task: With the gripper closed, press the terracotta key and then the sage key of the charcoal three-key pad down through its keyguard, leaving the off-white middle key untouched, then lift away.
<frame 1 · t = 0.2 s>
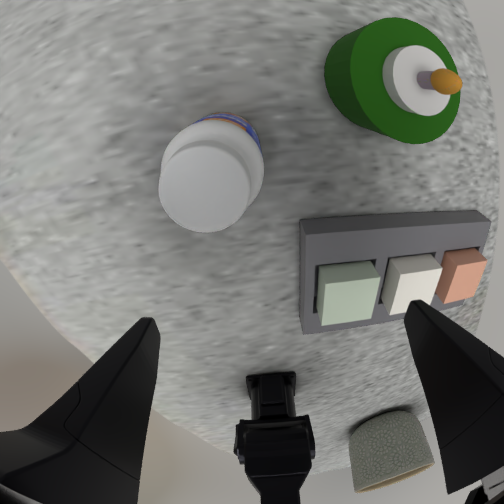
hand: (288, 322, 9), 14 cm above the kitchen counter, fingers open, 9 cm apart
key terracotta: (460, 275, 22), point 3 cm above the kitchen counter, slide at 0.0 cm
key white: (411, 284, 23), point 3 cm above the kitchen counter, slide at 0.0 cm
pill bottle: (222, 146, 20), on the kitchen counter
candle: (374, 79, 17), on the kitchen counter
key sage: (346, 293, 23), point 3 cm above the kitchen counter, slide at 0.0 cm
keypad: (396, 263, 25), on the kitchen counter
planter: (380, 420, 48), on the kitchen counter
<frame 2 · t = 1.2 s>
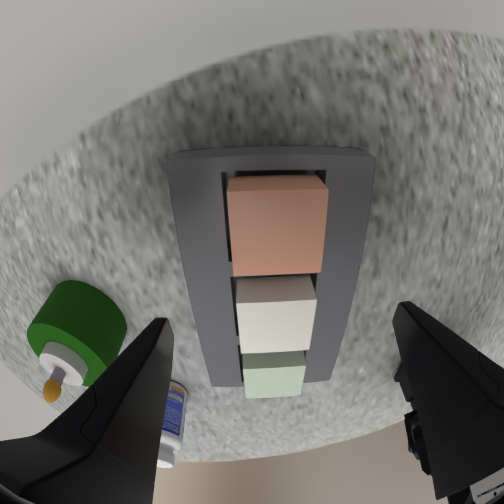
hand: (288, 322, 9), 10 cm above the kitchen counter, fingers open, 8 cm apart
key terracotta: (276, 224, 15), point 3 cm above the kitchen counter, slide at 0.0 cm
key white: (274, 316, 18), point 3 cm above the kitchen counter, slide at 0.0 cm
pill bottle: (166, 387, 29), on the kitchen counter
candle: (88, 313, 23), on the kitchen counter
key sage: (272, 371, 21), point 3 cm above the kitchen counter, slide at 0.0 cm
keypad: (271, 283, 21), on the kitchen counter
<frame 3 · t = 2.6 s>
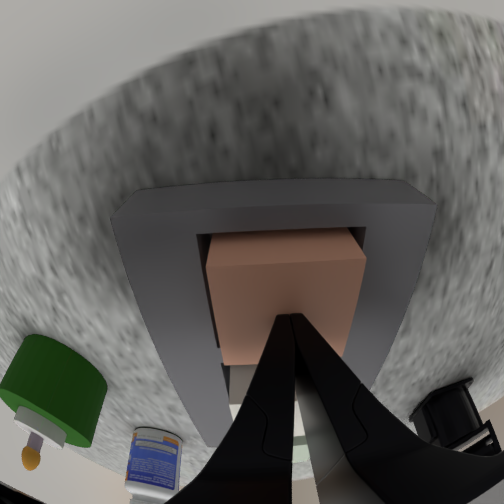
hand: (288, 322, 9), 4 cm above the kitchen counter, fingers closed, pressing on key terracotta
key terracotta: (283, 297, 10), point 3 cm above the kitchen counter, slide at -0.8 cm, touching gripper
key white: (280, 402, 13), point 3 cm above the kitchen counter, slide at 0.0 cm
pill bottle: (158, 434, 24), on the kitchen counter
candle: (64, 366, 18), on the kitchen counter
key sage: (276, 441, 16), point 3 cm above the kitchen counter, slide at 0.0 cm
keypad: (275, 352, 16), on the kitchen counter
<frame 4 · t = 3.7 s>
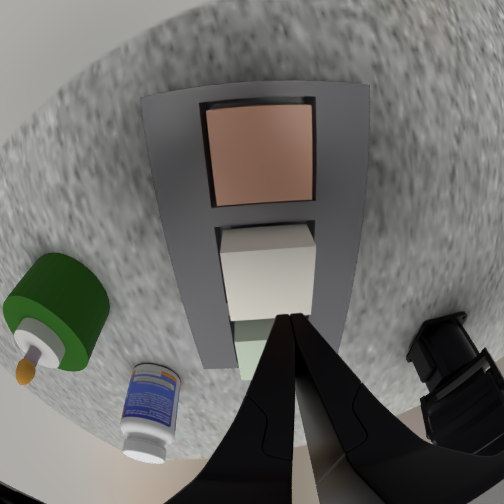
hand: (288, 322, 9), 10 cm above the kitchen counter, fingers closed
key terracotta: (260, 150, 13), point 2 cm above the kitchen counter, slide at -1.2 cm
key white: (268, 273, 16), point 3 cm above the kitchen counter, slide at 0.0 cm
pill bottle: (157, 375, 27), on the kitchen counter
candle: (70, 291, 21), on the kitchen counter
key sage: (270, 347, 19), point 3 cm above the kitchen counter, slide at 0.0 cm
keypad: (264, 242, 18), on the kitchen counter
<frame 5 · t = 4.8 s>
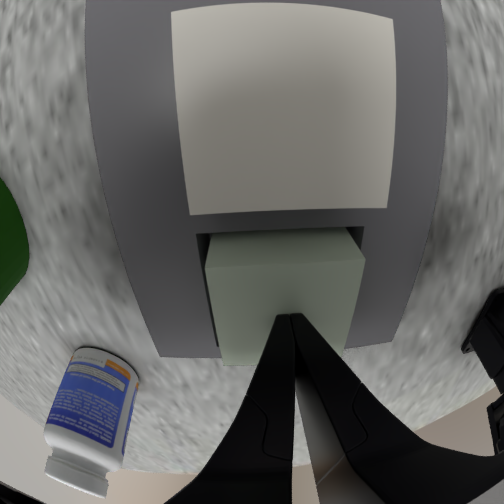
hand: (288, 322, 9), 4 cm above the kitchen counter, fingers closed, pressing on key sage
key white: (285, 103, 6), point 3 cm above the kitchen counter, slide at 0.0 cm
pill bottle: (107, 366, 17), on the kitchen counter
key sage: (282, 298, 10), point 3 cm above the kitchen counter, slide at -0.7 cm, touching gripper
keypad: (272, 101, 9), on the kitchen counter
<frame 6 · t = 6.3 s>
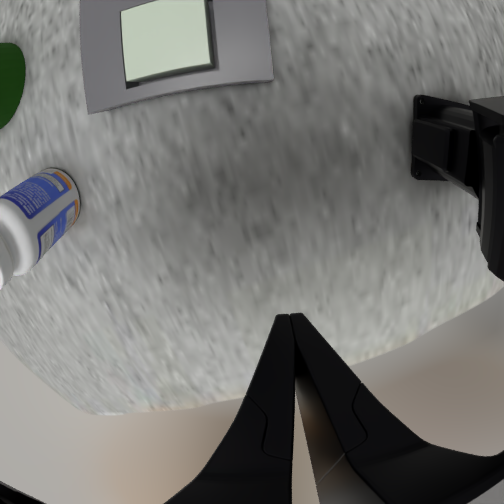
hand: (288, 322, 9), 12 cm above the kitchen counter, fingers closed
pill bottle: (58, 197, 19), on the kitchen counter
key sage: (168, 37, 12), point 2 cm above the kitchen counter, slide at -1.3 cm
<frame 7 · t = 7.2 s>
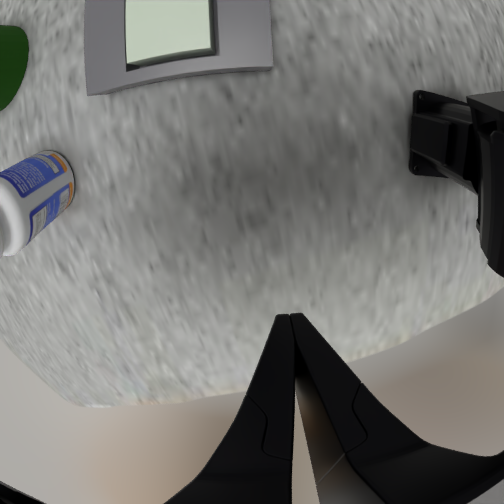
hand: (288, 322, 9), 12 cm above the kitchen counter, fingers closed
pill bottle: (53, 180, 18), on the kitchen counter
candle: (0, 69, 12), on the kitchen counter
key sage: (170, 22, 11), point 2 cm above the kitchen counter, slide at -1.3 cm
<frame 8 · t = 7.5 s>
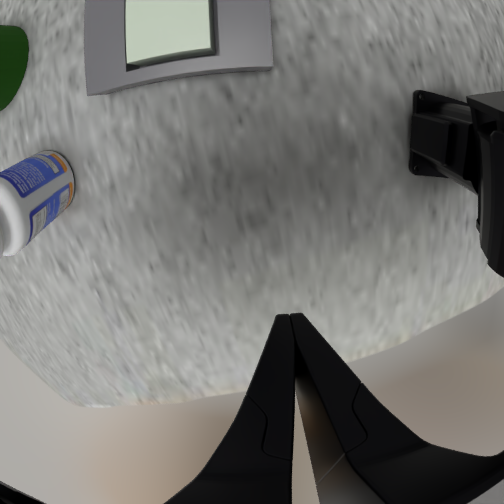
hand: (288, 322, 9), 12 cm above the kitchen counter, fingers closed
pill bottle: (53, 180, 18), on the kitchen counter
candle: (0, 69, 12), on the kitchen counter
key sage: (170, 22, 11), point 2 cm above the kitchen counter, slide at -1.3 cm
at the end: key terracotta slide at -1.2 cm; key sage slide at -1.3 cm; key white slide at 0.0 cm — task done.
